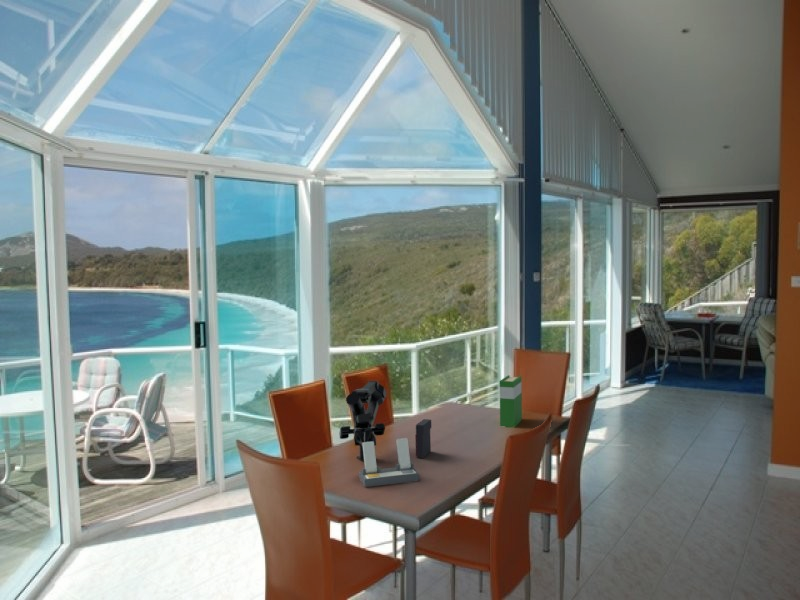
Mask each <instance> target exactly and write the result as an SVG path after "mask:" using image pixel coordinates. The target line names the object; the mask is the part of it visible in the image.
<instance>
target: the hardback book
mask: <svg viewBox="0 0 800 600" xmlns="http://www.w3.org/2000/svg"><path fill="white" fill-rule="evenodd" d="M522 386H523V385H522V375H519V376H511V375H509V374H508V375H507V376H505V377H503V378H501V379H500V380H499V422H500V423H499V426H506V427H505V428H511V427H514V428H516V427H517V426H518V424H520V423H521V421H523V409H522V408H523V401H522V400H523V398H522V397H523V396H522V390H523V389H522Z"/></svg>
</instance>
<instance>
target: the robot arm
mask: <svg viewBox="0 0 800 600" xmlns="http://www.w3.org/2000/svg"><path fill="white" fill-rule="evenodd" d="M386 398H387V391H386V387H384V386H383V385H381V384H380V382H379V381H378V380H369V381H367V382H366V384H365V385H364V386H363V387H362V388H357V389H354V390H351V393H349V394H348V395H347V396H346V397H345V401H346V404H347V406H348V407H349V408H348V409H349V410H351V415H352V420H353V426H354V428H351V426H350V425H346V426H341V427H340V429H339V439H340V440H342V439H343V440H344V439H348V438H349V437H350V435H353V440H354V446H355V447H357V446H358V449H359V453H358V454H359V455H358V456H356V459H358V460H360V461H361V462H364V454H363V445H362V443H363V442H372V441H374V447H375V446H377V438H376V436H383V435H385V431H386V425H385V424H384V422H379V423H378V422H377V423H374V422H375V420H376V416H377V413H378V411H379V406H381V405H383V403H384V402H385V399H386ZM365 404H368V405H367V408H365V407H366V406H365Z"/></svg>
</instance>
